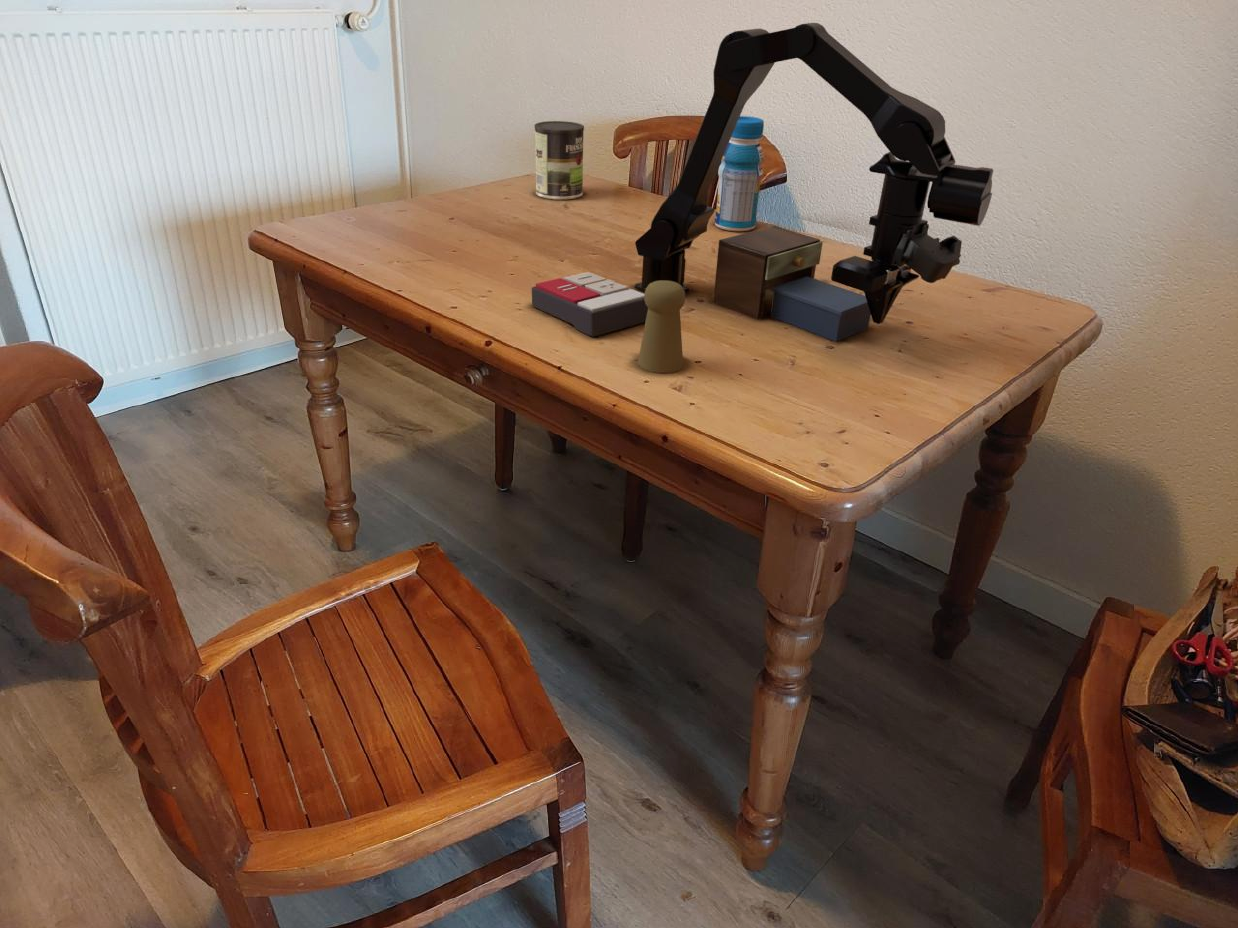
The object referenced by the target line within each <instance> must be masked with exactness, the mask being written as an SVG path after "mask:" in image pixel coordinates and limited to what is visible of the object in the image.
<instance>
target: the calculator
mask: <svg viewBox="0 0 1238 928" xmlns="http://www.w3.org/2000/svg"><path fill="white" fill-rule="evenodd" d="M644 296H645V293H643V292H641V291H638V290H635V289H633V288H629V286H628V285H624V284H622V283H619V282H616V281H615V280H612V279H607V278H606V277H603V276H600V275H597V274H595V273H592V272H589V271H585V272H581V273H576V274H571V275H567V276H564V277H563V278H561V277H559V278H555V279H549V280H546V281H541V282H537V283H535V286H532V287H531V304H532V305H531V306H532V308H535V309H537V310H540V311H543V312H544V313H546V314H549V315H550V316H554V317H556V318H558V319H560V320H563V321H565V322H567V323H569V324H571V325H573V326H574V329H576V331H578V332H580V333H583V334H585V335H588V336H590V337H597V336H601V335H605V334H608V333H612V332H615V331H619V330H622V329H625V328H629V327H632V326H633V327H634V326H636V325H640V324H645V322H646V317H647V312H648V307H647V305H646V304H645V300H644Z"/></svg>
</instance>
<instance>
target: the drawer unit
mask: <svg viewBox="0 0 1238 928" xmlns="http://www.w3.org/2000/svg"><path fill="white" fill-rule="evenodd" d="M818 242H821V239H820V238H816V237H813V236H809V235H806V234H803V233H801V232H796V231H792V230H788V229H786V228H783V227H779V226H776V225H772V226H768V227H764V228H760V229H757V230H752V231H749V232H748V231H747V232H745V233H741V234H737V235H733V236H731V237H730V236H729V237H726V238H722V239H718V247H717V248H718V249H717V257H716V258H717V259H716V269H715V279H714V287H713V288H714V289H713V300H712V302H713V303H714V304H717V305H718V306H719V305H720V306H722V307H724V308H727V309H729V310H732V311H735V312H737V313H740V314H743V315H745V316H748V317H750V318H753V319H755V320H760V319H763V310H764V304H765V294H766V289H769V290H771V291H772V290H773V287H776V286H779V285H782V284H785V283H788V282H791V281H794V280H797V279H800V278H803V277H806V276H808V277H811V278H814V279H815V275H816V268H817V265H814V266H811V267H808V268H805V269H801V270H798V271H795V272H792V273H789V274H786V275H782V276H779V277H776V278H773V279H770V280H765V276H766V268H767V260H768V257H770V256H773V255H777V254H780V253H784V252H787V251H790V250H794V249H797V248H801V247H804V246H808V245H811V244H814V243H818Z"/></svg>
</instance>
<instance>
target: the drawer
mask: <svg viewBox="0 0 1238 928" xmlns="http://www.w3.org/2000/svg"><path fill="white" fill-rule="evenodd" d="M823 243H824V242H823V241H820V242H818V243H814V244H811V245H808V246H804V247H801V248H797V249H794V250H790V251H787V252H784V253H780V254H777V255H773V256H770V257H768V260H767V268H766V276H765V280H770V279H773V278H776V277H779V276H782V275H786V274H789V273H792V272H795V271H798V270H801V269H805V268H808V267H811V266H814V265H816V266H817V265H820V262H821V256H822V250H823V245H824V244H823Z"/></svg>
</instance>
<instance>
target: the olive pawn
mask: <svg viewBox="0 0 1238 928" xmlns="http://www.w3.org/2000/svg"><path fill="white" fill-rule="evenodd" d="M644 294H645V296H644V300H645V304H646V305H647V307H648V312H647V317H646V322H644V329H643V332H642V333H643V334H642V339H641V342H640V343H641V344H640V348H639V354H638V359H637V365H638V367H640V368H641V369H643V370H645V371H648V372H651V373H656V374H657V373H658V374H669V373H670V374H671V373H674V372H678V371H680V370H681V369H682V368H683V367H684V357H683V356H684V355H683V339H682V324H681V323H682V321H681V309H682V308H683V307H684V305H685V302H686V291H684V289H683V287H682V286H681V285H680V284H678V283H676V282H673V281H665V280H662V281H655V282H652V283H650V284H649V285H648V286H647V288H646V290H645V291H644Z"/></svg>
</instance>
